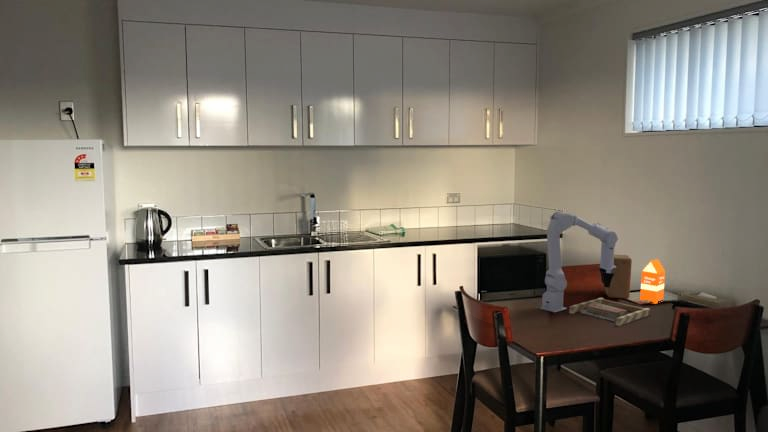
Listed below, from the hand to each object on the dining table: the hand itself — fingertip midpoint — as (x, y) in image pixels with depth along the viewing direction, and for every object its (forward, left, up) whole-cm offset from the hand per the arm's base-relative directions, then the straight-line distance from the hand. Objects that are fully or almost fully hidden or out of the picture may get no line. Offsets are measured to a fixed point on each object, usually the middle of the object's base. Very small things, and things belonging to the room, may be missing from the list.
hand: (605, 285), depth 289 cm
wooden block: (+22, +6, -10) cm, 25 cm away
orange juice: (+27, -9, -10) cm, 30 cm away
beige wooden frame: (-11, -9, -10) cm, 17 cm away
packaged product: (-15, -9, -10) cm, 20 cm away
